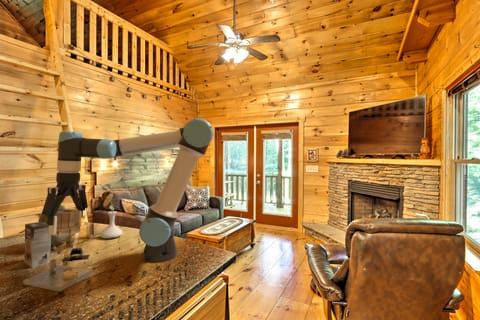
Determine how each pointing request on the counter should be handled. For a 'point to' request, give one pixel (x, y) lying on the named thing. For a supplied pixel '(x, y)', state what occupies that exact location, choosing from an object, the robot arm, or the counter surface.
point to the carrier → (57, 277)
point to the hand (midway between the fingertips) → (65, 230)
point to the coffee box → (37, 244)
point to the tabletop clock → (58, 238)
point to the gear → (66, 223)
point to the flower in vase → (111, 222)
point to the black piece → (78, 257)
